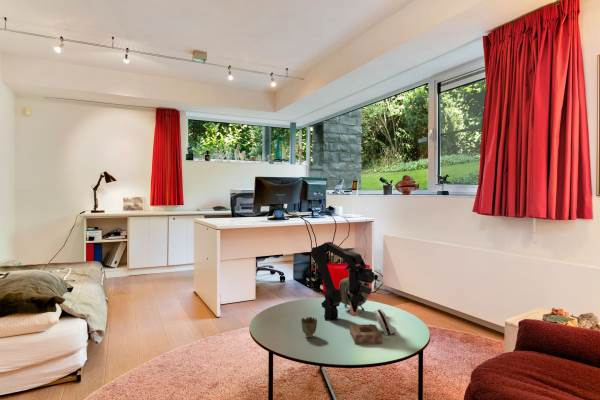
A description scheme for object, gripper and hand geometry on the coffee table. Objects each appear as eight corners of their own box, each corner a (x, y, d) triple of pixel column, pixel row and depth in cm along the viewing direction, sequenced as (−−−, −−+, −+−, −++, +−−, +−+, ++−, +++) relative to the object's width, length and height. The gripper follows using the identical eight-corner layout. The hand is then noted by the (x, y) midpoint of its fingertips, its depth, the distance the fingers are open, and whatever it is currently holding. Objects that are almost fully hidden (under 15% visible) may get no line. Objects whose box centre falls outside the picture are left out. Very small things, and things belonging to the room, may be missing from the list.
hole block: (355, 344, 152) (355, 335, 152) (350, 332, 164) (350, 324, 164) (381, 343, 153) (381, 334, 153) (374, 332, 165) (375, 324, 165)
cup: (305, 341, 154) (305, 323, 154) (298, 335, 161) (298, 318, 161) (320, 338, 158) (320, 321, 158) (312, 332, 164) (312, 315, 164)
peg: (350, 315, 169) (350, 299, 169) (349, 313, 173) (349, 297, 173) (358, 315, 169) (358, 299, 169) (357, 312, 173) (357, 297, 173)
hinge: (396, 335, 162) (389, 315, 162) (386, 338, 162) (379, 318, 162) (387, 322, 179) (381, 304, 178) (378, 325, 179) (372, 307, 178)
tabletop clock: (367, 310, 196) (367, 266, 195) (361, 315, 188) (361, 269, 187) (343, 305, 203) (344, 263, 203) (337, 310, 196) (337, 266, 195)
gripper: (375, 284, 162) (374, 317, 162) (366, 274, 180) (365, 304, 181) (351, 284, 161) (351, 317, 162) (344, 274, 180) (344, 304, 180)
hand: (353, 310), depth 171 cm, fingers closed on peg, 4 cm apart
